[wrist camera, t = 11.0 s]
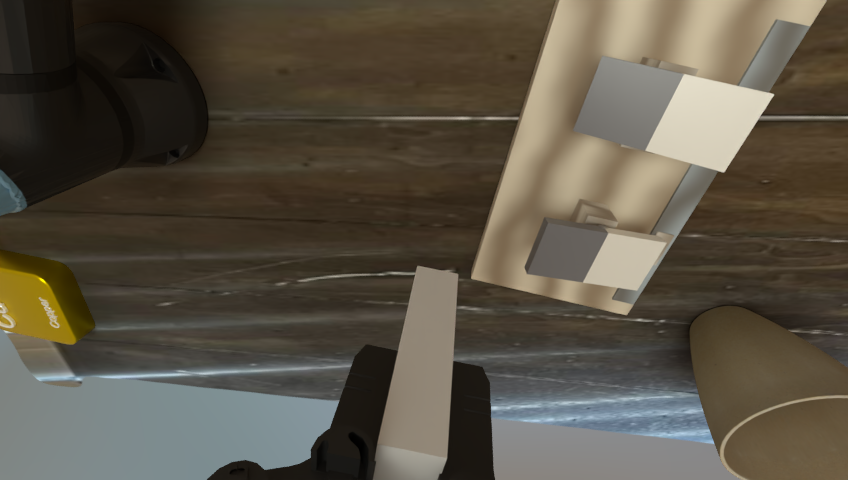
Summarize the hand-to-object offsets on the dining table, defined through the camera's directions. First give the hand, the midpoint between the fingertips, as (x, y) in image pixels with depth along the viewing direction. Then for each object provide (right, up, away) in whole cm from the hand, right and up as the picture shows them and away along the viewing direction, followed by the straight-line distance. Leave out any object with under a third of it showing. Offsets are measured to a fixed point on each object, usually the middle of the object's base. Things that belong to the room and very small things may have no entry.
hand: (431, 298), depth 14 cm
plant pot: (+38, -9, +35) cm, 52 cm away
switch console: (+19, +10, +26) cm, 34 cm away
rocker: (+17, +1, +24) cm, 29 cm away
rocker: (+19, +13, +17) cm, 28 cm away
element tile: (-65, -6, +50) cm, 82 cm away
